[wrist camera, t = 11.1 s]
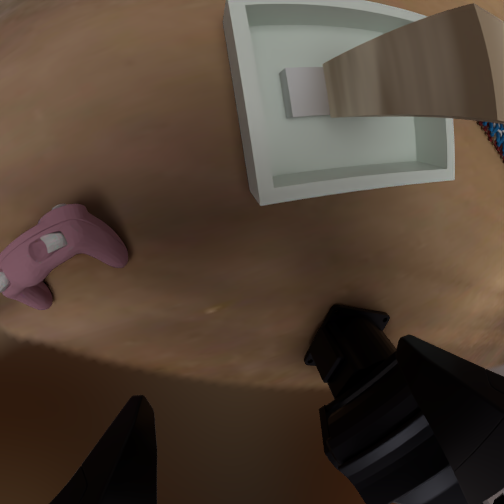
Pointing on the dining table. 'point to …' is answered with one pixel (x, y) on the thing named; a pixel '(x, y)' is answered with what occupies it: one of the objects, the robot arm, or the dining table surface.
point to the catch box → (324, 127)
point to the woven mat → (495, 135)
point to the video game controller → (55, 252)
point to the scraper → (410, 73)
